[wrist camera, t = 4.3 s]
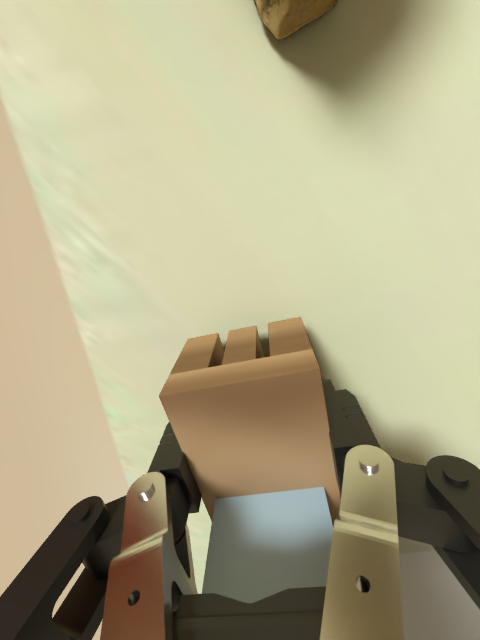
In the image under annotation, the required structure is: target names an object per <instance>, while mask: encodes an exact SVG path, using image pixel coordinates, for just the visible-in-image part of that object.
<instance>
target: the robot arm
mask: <svg viewBox="0 0 480 640" xmlns="http://www.w3.org/2000/svg"><path fill="white" fill-rule="evenodd" d="M322 386H323V392H324V399H325V405H326V411H327V417H328V424H329V430H330V432H329V437H330V443H331V450H332V456H333V462H334V468H335V474H336V480H337V484H338V487H339V491H340V494H341V503H340V512H339V517H336V518H335V522H334V528H333V536H332V544H331V552H330V560H329V568H328V576H327V584H326V586H322V587H305V588H289V589H286V590H283V591H281V592H278V593H276V594H273V595H271V596H269V597H266V598H264V599H261V600H259V601H256V602H254V603H245V602H241V601H238V600H235V599H232V598H228V597H225V596H222V595H219V594H216V593H206V594H198V593H197V589H196V584H195V577H194V569H193V561H192V553H191V544H190V536H189V529H188V526H187V524H186V522H187V518H188V513H197V512H199V507H200V502H201V497H202V494H201V492H200V490H199V487H198V485H197V483H196V480H195V478H194V475H193V473H192V471H191V468H190V466H189V464H188V461H187V459H186V456H185V454H184V452H182V450H181V447H180V445H179V443H178V440H177V438H176V436H175V433H174V431H173V428H172V426H171V424H170V422H169V423H168V424H167V426H166V429H165V431H164V433H163V436H162V438H161V441H160V444H159V446H158V448H157V451H156V453H155V456H154V458H153V461H152V463H151V465H150V468H149V470H148V473H147V474H145V475H143V476H141V477H140V478H138V479H137V480H136V481H135V482H134V483H133V484H132V485H131V487H130V488H129V490H128V492H127V495H126V496H124V497H121V498H119V499H117V500H114V501H112V502H109V503H107V504H104V502H103V500H102V499H101V498H100V497H97V496H92V497H88V498H86V499H84V500H82V501H80V502H79V503H77V504H76V505H75V506H74V507H72V508H71V509H70V511H69V512H68V513H67V514H66V515H65V517H64V518H63V519H62V520H61V522H60V523H59V524H58V525H57V527H56V528H55V529H54V530H53V532H52V533H51V534H50V535H49V537H48V538H47V539H46V540H45V542H44V543H43V544H42V545H41V547H40V548H39V549H38V550H37V552H36V553H35V554H34V555H33V557H32V558H31V559H30V561H29V562H28V563H27V564H26V565H25V567H24V568H23V569H22V570H21V572H20V573H19V574H18V575H17V577H16V578H15V579H14V580H13V582H12V583H11V584H10V585H9V587H8V588H7V589H6V590H5V592H4V593H3V594H2V595H1V597H0V640H92V638H93V636H94V634H95V632H96V631H97V629H98V627H99V625H100V623H101V621H102V628H101V636H100V640H404V629H403V612H402V594H401V577H400V559H399V542H398V536H399V537H403V538H406V539H410V540H414V541H418V542H422V543H426V544H430V545H432V546H433V548H434V549H435V550H436V552H437V553H438V554H439V556H440V557H441V559H442V560H443V561H444V563H445V564H446V565H447V567H448V568H449V569H450V571H451V572H452V573H453V575H454V576H455V577H456V579H457V580H458V581H459V583H460V584H461V585H462V587H463V588H464V589H465V591H466V592H467V593H468V595H469V596H470V597H471V599H472V600H473V602H474V603H475V604H476V606H477V607H478V608H479V610H480V469H478V468H477V467H476V466H475V465H473V464H471V463H470V462H468V461H466V460H464V459H461V458H458V457H454V456H446V455H443V456H437V457H434V458H432V459H431V460H429V462H428V463H427V465H426V466H422V465H416V464H409V463H404V462H401V461H398V460H396V459H394V458H392V457H390V456H389V455H388V454H387V453H386V452H385V451H384V450H382V449H381V447H380V446H379V444H378V442H377V440H376V438H375V436H374V434H373V432H372V430H371V428H370V426H369V424H368V422H367V420H366V418H365V416H364V414H363V412H362V410H361V408H360V406H359V404H358V402H357V400H356V398H355V396H354V395H352V394H351V393H350V392H349V391H347V390H346V389H345V390H338V391H335V390H334V387H333V385H332V382H331V380H330V379H329V380H323V381H322ZM81 563H83V564H84V566H85V569H84V570H83V572H82V573H81V575H80V576H79V578H78V579H77V581H76V583H75V584H74V586H73V587H72V589H71V590H70V592H69V594H68V595H67V597H66V598H65V600H64V601H63V603H62V604H61V606H60V607H59V609H58V611H57V612H56V614H55V615H54V617H53V618H52V612H53V608H54V605H55V603H56V601H57V599H58V598H59V596H60V595H61V593H62V592H63V590H64V589H65V587H66V586H67V584H68V583H69V581H70V580H71V578H72V577H73V575H74V574H75V572H76V570H77V569H78V568H79V566H80V564H81ZM102 619H103V620H102Z"/></svg>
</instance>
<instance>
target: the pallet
mask: <svg viewBox="0 0 480 640" xmlns="http://www.w3.org/2000/svg"><path fill="white" fill-rule="evenodd" d="M268 333H269V346H270V357H265V358H264V356H263V352H262V347H261V343H260V339H259V335H258V331H257V327H256V326H252V327H247V328H242V329H236V330H231V331H229V334H228V339H227V343H226V347H225V352H224V351H223V348H222V344H221V341H220V337H219V334H218V333H216V334H211V335H206V336H201V337H196V338H191V339H188V340H187V342H186V344H185V346H184V348H183V350H182V352H181V354H180V356H179V358H178V360H177V361H176V363H175V365H174V367H173V369H172V371H171V373H170V375H169V377H168V379H167V381H166V383H165V385H164V387H163V389H162V391H161V393H160V395H159V398H160V400H161V402H162V405H163V407H164V410H165V412H166V414H167V417H168V419H169V421H170V424H171V426H172V428H173V431H174V433H175V436H176V438H177V440H178V443H179V445H180V447H181V450H182V452H184V454H185V456H186V459H187V461H188V464H189V466H190V468H191V471H192V473H193V475H194V478H195V480H196V483H197V485H198V487H199V490H200V492H201V494H202V499H203V502H204V504H205V507H206V509H207V511H208V514H209V516H210V518H211V521H212V520H213V513H214V506H215V499H219V498H228V497H237V496H246V495H255V494H264V493H272V492H281V491H290V490H299V489H308V488H317V487H324V490H325V494H326V499H327V503H328V507H329V512H330V516H331V520H332V525H333V528H334V522H335V518H336V517H339V512H340V503H341V499H340V492H339V487H338V484H337V480H336V474H335V468H334V462H333V456H332V450H331V443H330V437H329V432H330V430H329V424H328V417H327V411H326V405H325V399H324V392H323V386H322V380H321V373H320V368H319V365H318V363H317V360H316V357H315V355H314V352H313V349H312V346H311V344H310V341H309V338H308V335H307V333H306V330H305V327H304V325H303V322H302V319H301V317H297V318H292V319H287V320H282V321H277V322H272V323H268Z"/></svg>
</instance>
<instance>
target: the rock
mask: <svg viewBox="0 0 480 640" xmlns="http://www.w3.org/2000/svg"><path fill="white" fill-rule="evenodd" d="M255 2H256V5H257V9H258V13H259V15H260V17H261V19H262V21H263V23H264V25H266V27H268V28H269V30H270V31H271V32H272V33H273V35H274V36H275V37H276V39H279V40H281V39H283V38H285V37H287V36H289V35H290V34H292V33H293V32H295V31H296V30H298V29H300V28H301V27H302V26H304V25H306V24H308V23H310V22H312V21H313V20H315V19H317V18H319V17H321V16H322V15H323V14H325V13H326V12H327V11H328V10H330V9H331V8H332V7H334V6H335V4H336V3H337V2H338V0H255Z"/></svg>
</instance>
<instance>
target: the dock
mask: <svg viewBox="0 0 480 640" xmlns="http://www.w3.org/2000/svg"><path fill="white" fill-rule="evenodd" d="M398 542H399V559H400V577H401V594H402V612H403V629H404V640H480V610H479V608H478V607H477V606H476V604H475V603H474V602H473V600H472V599H471V597H470V596H469V595H468V593H467V592H466V591H465V589H464V588H463V587H462V585H461V584H460V583H459V581H458V580H457V579H456V577H455V576H454V575H453V573H452V572H451V571H450V569H449V568H448V567H447V565H446V564H445V563H444V561H443V560H442V559H441V557H440V556H439V554H438V553H437V552H436V550H435V549H434V548H433V546H432V545H430V544H426V543H422V542H418V541H414V540H410V539H406V538H403V537H399V536H398Z"/></svg>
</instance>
